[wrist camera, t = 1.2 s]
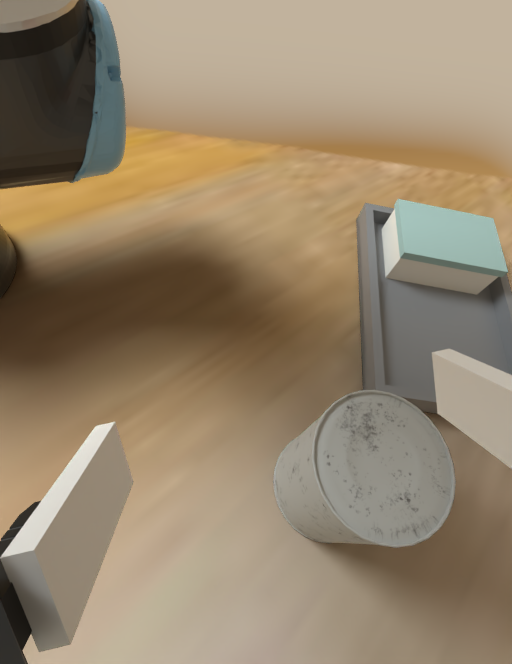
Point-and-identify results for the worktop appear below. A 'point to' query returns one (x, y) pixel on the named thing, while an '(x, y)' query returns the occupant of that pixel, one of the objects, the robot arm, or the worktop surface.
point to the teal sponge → (441, 248)
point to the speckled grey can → (367, 474)
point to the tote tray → (422, 322)
